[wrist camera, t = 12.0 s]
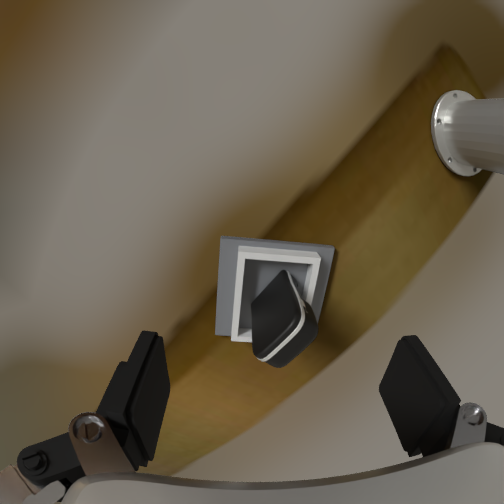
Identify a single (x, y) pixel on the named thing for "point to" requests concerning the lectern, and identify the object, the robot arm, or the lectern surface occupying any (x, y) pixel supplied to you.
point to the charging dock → (265, 278)
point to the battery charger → (281, 322)
